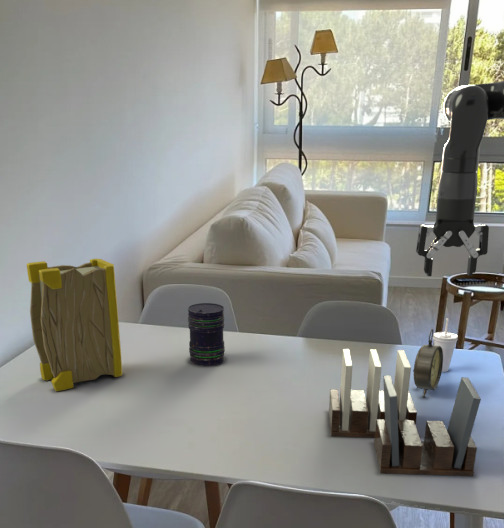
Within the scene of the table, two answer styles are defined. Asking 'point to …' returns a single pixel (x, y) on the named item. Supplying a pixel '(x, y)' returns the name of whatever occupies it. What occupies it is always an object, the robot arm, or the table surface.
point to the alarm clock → (428, 366)
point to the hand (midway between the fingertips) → (449, 275)
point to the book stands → (402, 439)
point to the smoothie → (445, 345)
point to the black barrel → (206, 334)
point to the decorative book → (75, 321)
